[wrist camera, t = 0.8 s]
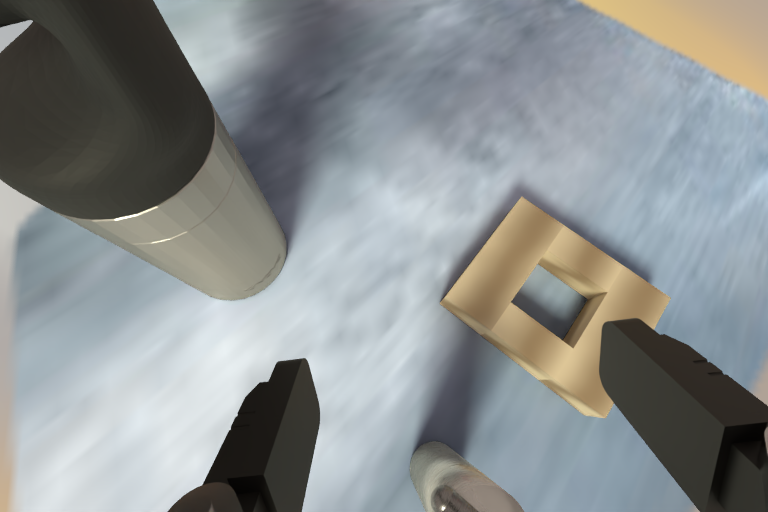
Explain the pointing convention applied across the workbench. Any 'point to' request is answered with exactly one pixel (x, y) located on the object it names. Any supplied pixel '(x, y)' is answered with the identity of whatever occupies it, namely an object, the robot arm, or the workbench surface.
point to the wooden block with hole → (525, 335)
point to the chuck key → (455, 483)
